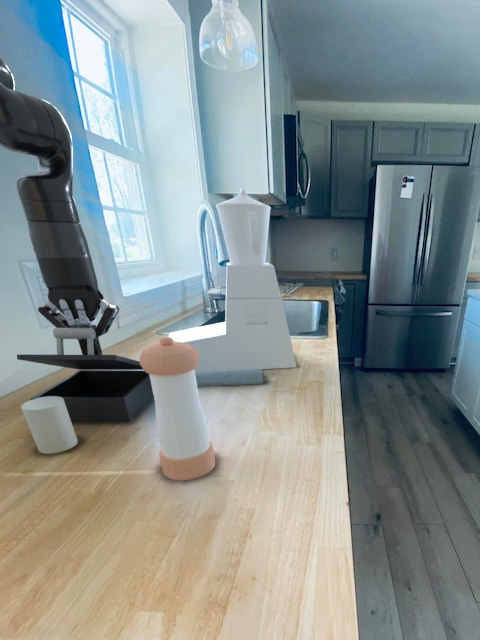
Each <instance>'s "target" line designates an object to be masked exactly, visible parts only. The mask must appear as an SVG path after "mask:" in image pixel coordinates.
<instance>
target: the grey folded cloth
mask: <svg viewBox="0 0 480 640" xmlns="http://www.w3.org/2000/svg"><path fill="white" fill-rule="evenodd" d="M263 370H264V369H256V370H239V371H213V372H195V376H196V382H197V387H204V386H205V387H207V386H220V387H221V386H223V387H224V386H245V385H264V383H265V372H264V371H263Z"/></svg>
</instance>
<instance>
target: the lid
mask: <svg viewBox="0 0 480 640" xmlns="http://www.w3.org/2000/svg"><path fill="white" fill-rule="evenodd" d="M52 334H53V337H54V338H55V340H56V354H16V359H17V360H18V361H23V362H30V363H37V364H42V365H49V366H55V367H61V368H67V369H73V370H77V371H79V370H144V369H143V368H142V367H141V365H140V363H139V360H135V359H131V358H129V357H126V356H125V357H124V356H120V355H118V354H102V355H94V342H93V339H95V337H96V333H95V330H94V329H93V328H56V327H54V328H53V330H52ZM77 339H87V348H88V355H83V354H65V349H64V340H77Z"/></svg>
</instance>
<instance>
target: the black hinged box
mask: <svg viewBox="0 0 480 640" xmlns="http://www.w3.org/2000/svg"><path fill="white" fill-rule="evenodd" d="M48 396H58V397H62V398H63V399H64V402H65V405H66V408H67V411H68V414H69V417H70V420H71V422H72V423H131V422H132V421H133V420H134V419H135V418H136V417H137V416H138V415H139V414H140V413H141V412H142V411H143V409H145V408H146V406H147V405H148V404H149V403H150V402H151V401H152V400H153V399H154V395H153V390H152V385H151V380H150V376H149V373H146V372H145V371H144V370H77V371H75V372H74V373H72V374H70V375H68V376H67V377H65V378H64V379H62V380H60V381H58V382H56V383H54V384H53V385H51V386H49V387H48V388H46V389H45V390H43V391H41V392H39V393H37V394H35V395H34V396H32V397H31V398H30V400H33V399H36V398H41V397H48Z"/></svg>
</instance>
